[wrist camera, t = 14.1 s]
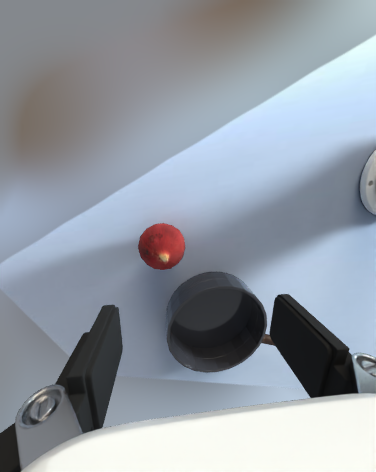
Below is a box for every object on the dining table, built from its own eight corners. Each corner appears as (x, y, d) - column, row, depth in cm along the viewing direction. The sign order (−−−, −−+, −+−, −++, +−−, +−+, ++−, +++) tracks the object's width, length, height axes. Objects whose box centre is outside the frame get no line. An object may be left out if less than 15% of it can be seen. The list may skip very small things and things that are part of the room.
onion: (138, 252, 27) (129, 279, 19) (145, 214, 26) (139, 226, 18) (176, 259, 28) (182, 287, 21) (185, 223, 27) (195, 238, 19)
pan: (184, 260, 29) (188, 274, 24) (266, 284, 32) (283, 299, 27) (154, 340, 32) (153, 364, 27) (232, 354, 35) (242, 378, 31)
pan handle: (254, 337, 30) (258, 344, 29) (257, 330, 30) (262, 337, 29) (299, 347, 32) (305, 353, 31) (303, 340, 32) (309, 347, 31)
